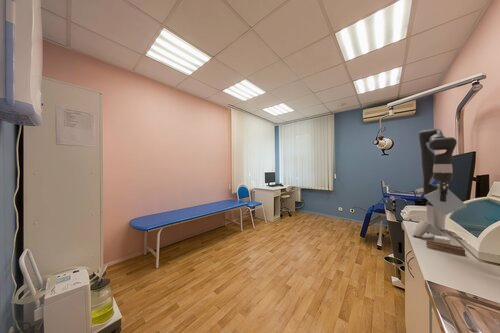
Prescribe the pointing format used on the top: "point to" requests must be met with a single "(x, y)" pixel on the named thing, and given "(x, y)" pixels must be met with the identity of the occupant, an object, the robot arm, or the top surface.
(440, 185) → the robot arm
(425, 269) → the top surface
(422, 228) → the infrared thermometer
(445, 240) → the offcut top
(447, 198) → the slate sheet
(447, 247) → the slot rack
